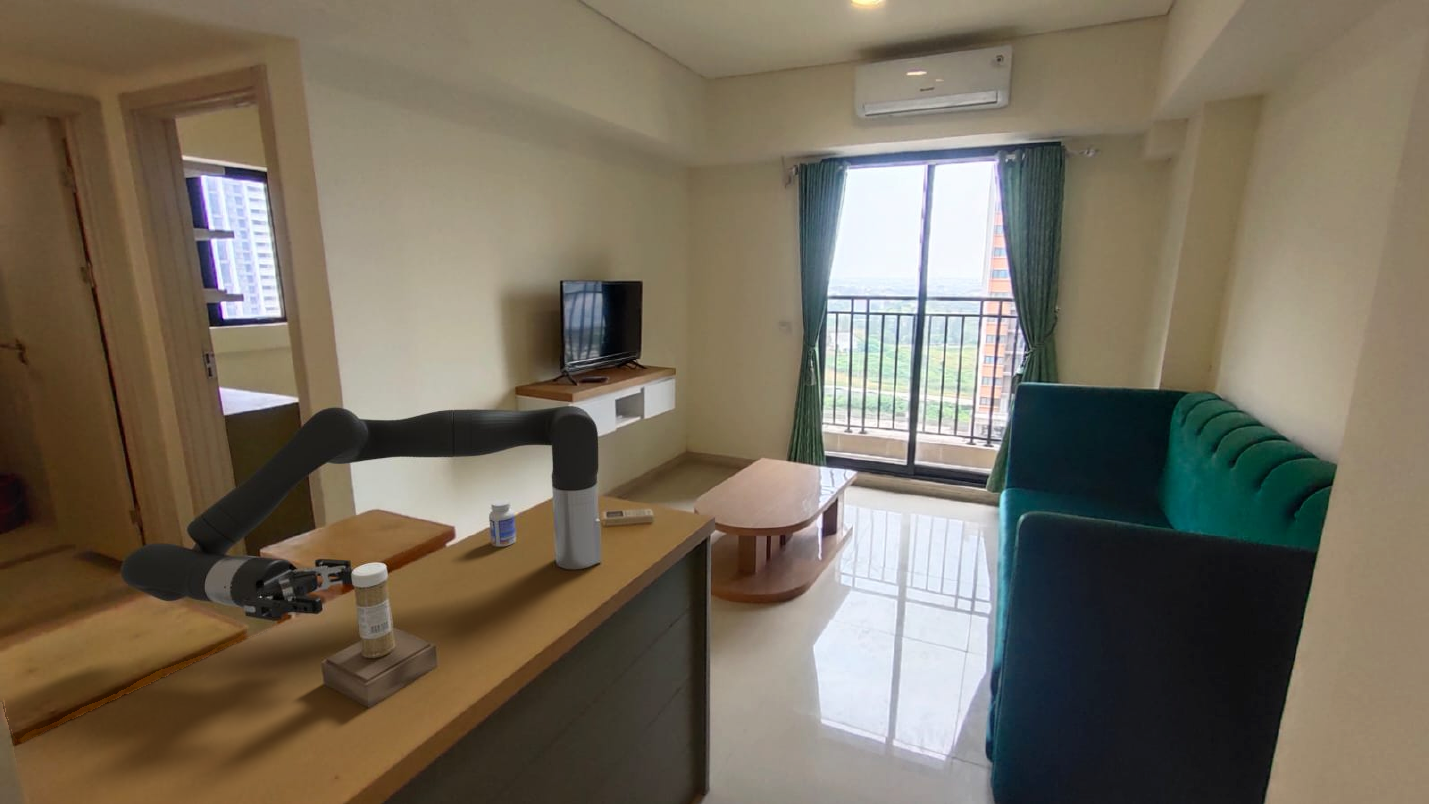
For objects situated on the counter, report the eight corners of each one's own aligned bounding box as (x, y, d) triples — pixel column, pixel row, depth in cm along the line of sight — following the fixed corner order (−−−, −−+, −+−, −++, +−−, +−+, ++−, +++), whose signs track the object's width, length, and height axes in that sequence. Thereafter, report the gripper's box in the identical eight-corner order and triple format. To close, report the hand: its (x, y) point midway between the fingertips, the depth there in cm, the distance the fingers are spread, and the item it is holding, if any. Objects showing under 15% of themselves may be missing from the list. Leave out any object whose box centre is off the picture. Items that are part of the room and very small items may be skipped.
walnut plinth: (393, 646, 101) (390, 623, 100) (437, 666, 95) (435, 642, 95) (323, 683, 91) (320, 659, 90) (369, 708, 86) (366, 682, 85)
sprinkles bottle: (396, 639, 95) (387, 558, 93) (395, 655, 91) (385, 571, 89) (362, 646, 93) (352, 564, 91) (360, 663, 89) (349, 578, 87)
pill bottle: (519, 538, 143) (517, 498, 141) (510, 548, 138) (507, 507, 136) (497, 537, 144) (494, 497, 142) (486, 547, 138) (483, 506, 136)
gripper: (201, 580, 87) (300, 591, 84) (287, 540, 101) (375, 548, 98) (210, 629, 88) (307, 641, 85) (293, 582, 102) (379, 591, 99)
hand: (343, 591), depth 92 cm, fingers open, 8 cm apart
